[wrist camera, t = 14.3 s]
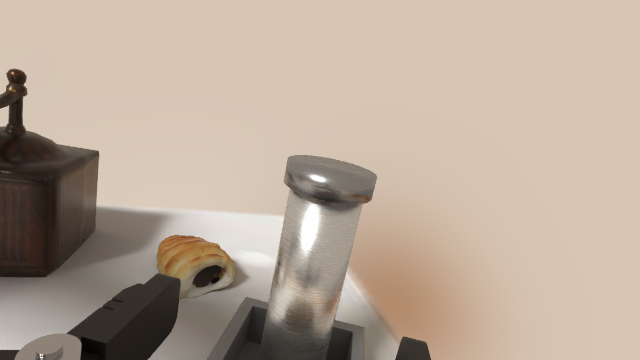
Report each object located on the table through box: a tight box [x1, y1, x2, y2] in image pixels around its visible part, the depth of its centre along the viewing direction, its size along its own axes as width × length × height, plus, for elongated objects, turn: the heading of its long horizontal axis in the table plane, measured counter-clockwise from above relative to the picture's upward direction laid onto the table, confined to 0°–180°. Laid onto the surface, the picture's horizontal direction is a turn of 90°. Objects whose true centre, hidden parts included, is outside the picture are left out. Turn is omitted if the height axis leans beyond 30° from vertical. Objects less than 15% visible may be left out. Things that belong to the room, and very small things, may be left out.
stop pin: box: [258, 155, 377, 360], centre depth 20 cm, size 5×5×15 cm
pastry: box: [157, 235, 237, 298], centre depth 35 cm, size 9×7×4 cm
